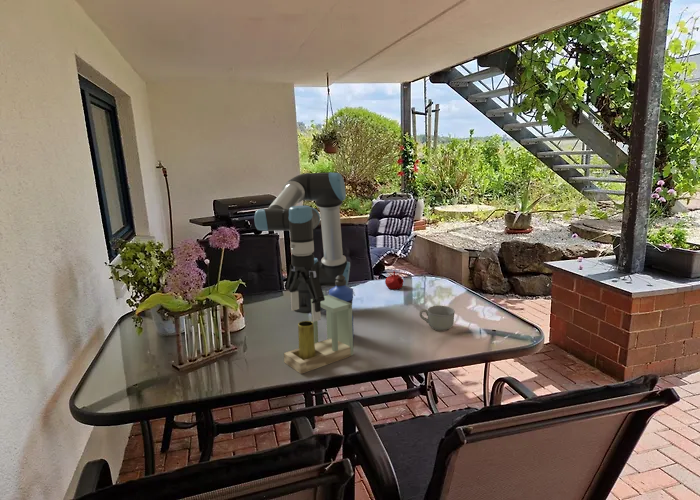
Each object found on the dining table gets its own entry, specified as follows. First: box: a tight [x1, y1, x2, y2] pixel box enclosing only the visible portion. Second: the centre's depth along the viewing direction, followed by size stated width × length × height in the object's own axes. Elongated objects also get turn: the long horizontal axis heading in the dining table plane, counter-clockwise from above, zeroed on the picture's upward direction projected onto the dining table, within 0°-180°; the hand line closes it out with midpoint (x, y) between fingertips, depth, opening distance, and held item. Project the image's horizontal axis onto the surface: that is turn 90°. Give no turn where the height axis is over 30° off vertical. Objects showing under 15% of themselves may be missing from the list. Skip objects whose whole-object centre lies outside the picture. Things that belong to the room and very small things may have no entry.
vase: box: [297, 320, 316, 360], centre depth 150 cm, size 6×6×14 cm
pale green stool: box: [310, 294, 354, 356], centre depth 158 cm, size 14×8×19 cm, turn 38°
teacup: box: [418, 305, 455, 331], centre depth 179 cm, size 14×11×8 cm
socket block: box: [283, 338, 352, 375], centre depth 153 cm, size 11×20×4 cm, turn 128°
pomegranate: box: [384, 270, 404, 290], centre depth 237 cm, size 10×10×9 cm
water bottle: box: [328, 275, 355, 338], centre depth 171 cm, size 9×9×25 cm
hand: (305, 315), depth 148 cm, fingers open, 13 cm apart
